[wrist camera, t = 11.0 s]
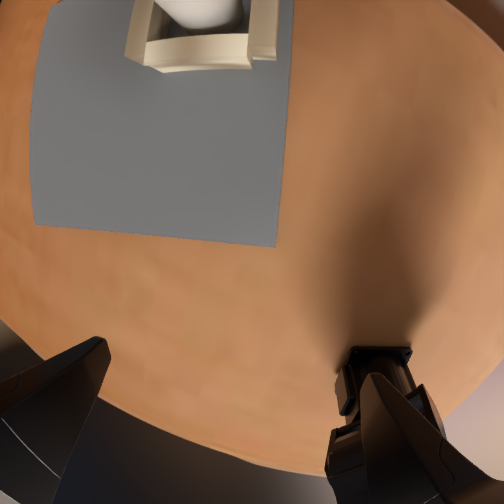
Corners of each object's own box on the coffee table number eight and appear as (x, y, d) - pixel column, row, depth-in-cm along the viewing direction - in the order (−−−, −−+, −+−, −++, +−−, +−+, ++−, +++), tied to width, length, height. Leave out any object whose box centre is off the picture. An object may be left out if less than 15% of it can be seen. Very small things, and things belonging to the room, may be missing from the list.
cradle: (282, -31, 12) (281, -52, 9) (275, 70, 15) (274, 57, 12) (161, -21, 12) (145, -38, 10) (144, 75, 16) (122, 66, 13)
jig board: (294, -38, 12) (295, -44, 11) (275, 242, 20) (275, 247, 20) (56, 8, 14) (50, 6, 13) (41, 221, 22) (34, 224, 21)
